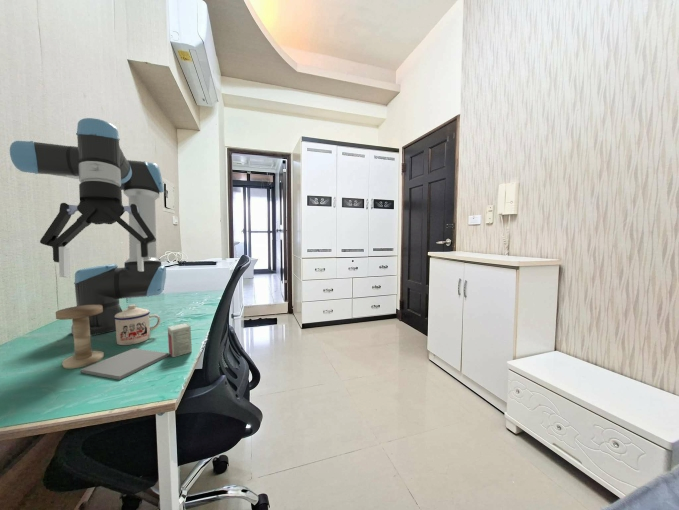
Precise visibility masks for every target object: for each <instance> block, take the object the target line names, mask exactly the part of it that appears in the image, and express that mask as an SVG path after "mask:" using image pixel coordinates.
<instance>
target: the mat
mask: <svg viewBox="0 0 679 510" xmlns="http://www.w3.org/2000/svg"><path fill="white" fill-rule="evenodd" d="M169 355H170V353H169V352H163V351H155V350H149V349H148V350H147V349H143V348H135V347H133V348H131V349H128V350H126V351H123V352H121V353H118V354H116V355H114V356H111V357H108V358H106V359H102V360H100V361H98V362H96V363H94V364H91V365H88V366H85V367H84V368H83V367H82V368H81V369H80V374H81V373H82V374H87V375H90V376H91V375H93V376H98V377H103V378H109V379H114V380H119V381H120V380H122V379H124V378H126V377H129V376H130V375H132V374H134V373H137V372H139V371H141V370H143V369H145V368H147V367H149V366H151V365H153V364H155V363H157V362H159V361H161V360H163V359H165V358H167V357H169Z"/></svg>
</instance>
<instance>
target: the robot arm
mask: <svg viewBox="0 0 679 510" xmlns="http://www.w3.org/2000/svg"><path fill="white" fill-rule="evenodd" d="M75 134H76V136H77V137H76V138H77V146H75V145H74V146H72V145H62V144H57V143H56V144H54V143H47V142H39V141H38V142H36V141H33V140H30V141H29V140H28V141H27V140H15V141H13V142H12V143H11V144H10V146H9V155H10V160H11V162H12V164H13V165H14V167H15V168H16V169H17V170H18V171H20V172H23V173H29V174H35V175H51V176H56V177H63V178H70V179H74V180H78V181H79V184H78V188H79V189H78V191H79V192H78V193H79V195H78V196H79V203H78V204H77V205H75V204H68V203H67V202H61V203H60V204H59V211H58V213H57V215H56V216H55V218H54V219H53V221H52V222H51V224H50V225H49V227H48V228H47V230H45V233H44V234H43V235H42V237H41V238H40V240H39V243H40V244H42V245H45V246H48V247H51V248H52V260H53V262H55V263H58V266H59V267H58V268H59V273H58V275H59V277H60V278H70V277H71V269H70V248H68V247H66V246H67V245H68V244H69V243H70V242H71V241H72V240H73V239H75V237H77V236H78V235H79V234H80V233H81V232H82V231H83V230H84V229H85V228H87V227H89V226H90V225H92V224H94V225H103V224H105V225H113V224H115V223H116V222H117V224H119V225H120V226H121V227H122V228H124V230H125V231H127V232H128V239H129V241H128V242H129V243H128V244H129V246H128V247H129V248H128V251H129V252H128V255H129V256H128V257H129V258H128V259H127V260H125V261H124V263H123V264H124V267H119V266H118V265H117V264H116V263H113V264H104V265H96V266H91V267H86V268H80V269H78V270H77V271H75V273H74V283H73V285H74V289H75V290H74V293H75V303H76V306H83V305H102V306H103V312H102V313H99V314H96V315H93V316H89V325H90V336H94V335H95V336H96V335H100V334H105V333H106V334H107V333H110V332H115V331H116V323H115V319H114V317H115V315H116V314H117V313H120V312H122V311H123V309H122V306H121V304H120V300H121V299H132V298H133V299H134V298H144V297H145V298H146V297H148V298H149V297H154V296H160V295H161V294H162V293H163V291H164V288H165V285H166V278H167V267H166V266H165V265H162V261H161V260H160V259H159V258H158V257H157V254H158V253H157V225H156V224H157V223H156V222H157V221H156V220H157V219H156V200H157V199H159V198H160V193H161V194H162V193H164V192H165V190H164V182H163V177H162V174H161V173H162V172H161V170H160V167H159V165H158V164H157V163H155V162H149V161H141V160H140V161H139V160H131V159H130V160H129V159H127V158H126V156H125V155H124V153H123V151H122V148H121V147H120V146H121V145H120V141H121V138H120V137H119V130H118V129H117V127H116V126H115V125H113V124H112V123H110V122H108V121H105V120H103V119H100V118H95V117H94V118H93V117H85V118H82V119H81V118H80V119H79V120H78V122H77V128H76V133H75ZM122 191H123V195H125V196H126V198H128V205H123V198H122V197H123V195H122ZM76 212H79V213H80V214H81V215H80V216H79V217H77V219H76V221H75V222H73V223H72V224H71V225H70V226H69V227H68V228H67V229H65V227H66V226H67V223H68V222H69V221H70V220H71V217H72V216H73V215H75V213H76ZM125 212H127V213H128V223H127V222H126V221H125V220H124V219H123V218H121V217H122V216H123V215H124V213H125ZM64 229H65V231H64V232H63V230H64ZM70 332H71V335H72V336H74V335H73V323H72V325H71V327H70Z"/></svg>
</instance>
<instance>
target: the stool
mask: <svg viewBox="0 0 679 510" xmlns="http://www.w3.org/2000/svg"><path fill="white" fill-rule="evenodd" d="M102 312H103V306H102V305H83V306H77V305H76V306H71V307H66V308H62V309H59V310H57V311H55V319H56V320H62V321H63V320H71V321H72V324H73V335H72V336H73V346H74V355H71V356H69V357H67V358H65V359H64V360H62V368H63V369H67V370H68V369H69V370H70V369H79V368H83V367H84V368H85V367H88V366H91V365H93V364H96V363H98V362H101V361H103V360H104V352H103V351H102V350H92V341H91V335H90V325H89V316H93V315H96V314H99V313H102Z"/></svg>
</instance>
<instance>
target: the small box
mask: <svg viewBox="0 0 679 510" xmlns="http://www.w3.org/2000/svg"><path fill="white" fill-rule="evenodd" d="M191 331H192V328H191V325H190V324H188V323H187V322H186V323H185V322H184V323H181V324H175V325H172V326H167V338H168V341H167V342H168V354H169V355H170V356H171V358H176V357H179V356H183V355H186V354H190V353H192V332H191Z"/></svg>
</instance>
